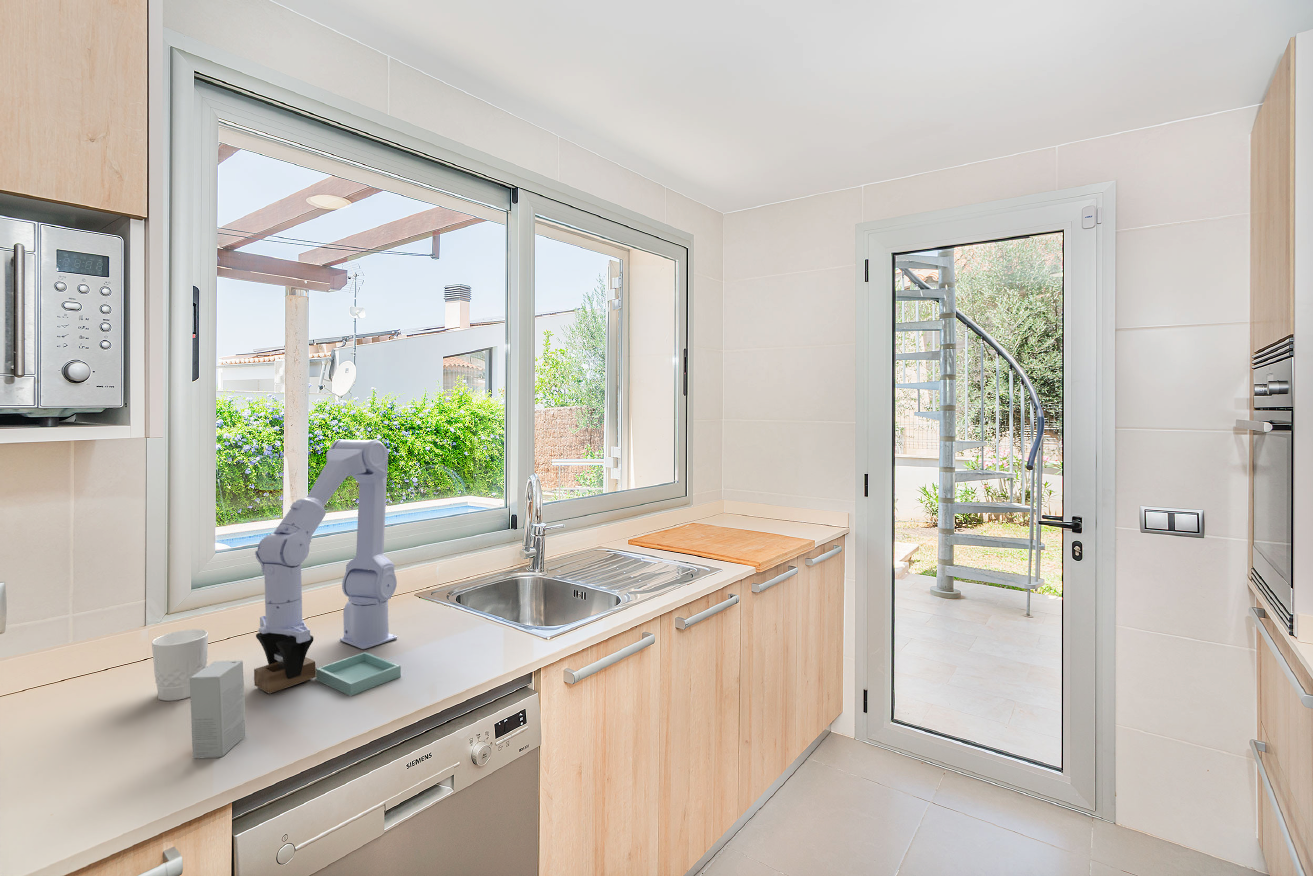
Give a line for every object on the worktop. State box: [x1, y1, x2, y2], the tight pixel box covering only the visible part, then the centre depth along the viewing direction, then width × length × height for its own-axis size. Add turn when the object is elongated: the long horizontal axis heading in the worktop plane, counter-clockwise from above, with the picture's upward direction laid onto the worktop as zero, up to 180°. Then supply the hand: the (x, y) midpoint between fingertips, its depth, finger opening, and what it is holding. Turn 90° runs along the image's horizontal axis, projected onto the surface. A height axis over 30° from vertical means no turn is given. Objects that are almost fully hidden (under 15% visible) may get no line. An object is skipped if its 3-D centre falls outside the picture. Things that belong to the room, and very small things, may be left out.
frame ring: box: [253, 656, 317, 694], centre depth 113 cm, size 6×8×3 cm
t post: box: [274, 652, 285, 671], centre depth 113 cm, size 4×2×6 cm, turn 56°
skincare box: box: [189, 660, 247, 759], centre depth 91 cm, size 6×4×12 cm
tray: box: [315, 651, 402, 697], centre depth 116 cm, size 12×10×2 cm
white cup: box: [151, 628, 209, 702], centre depth 109 cm, size 8×8×10 cm
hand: (285, 672), depth 113 cm, fingers closed on frame ring, 6 cm apart
